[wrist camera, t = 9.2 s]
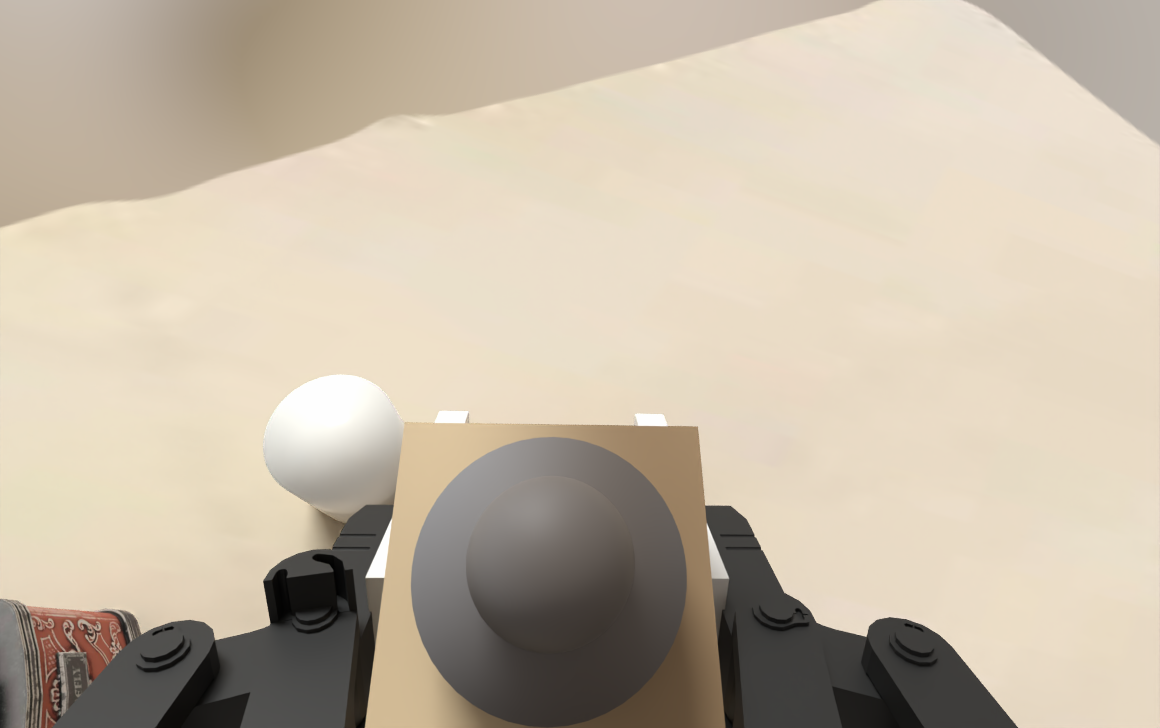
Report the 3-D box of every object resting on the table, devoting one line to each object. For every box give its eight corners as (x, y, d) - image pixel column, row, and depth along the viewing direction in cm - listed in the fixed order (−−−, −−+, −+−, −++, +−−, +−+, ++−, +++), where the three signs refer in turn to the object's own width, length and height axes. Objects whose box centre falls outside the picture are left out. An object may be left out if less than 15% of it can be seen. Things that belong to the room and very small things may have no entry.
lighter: (158, 781, 27) (-40, 848, 18) (74, 815, 26) (-177, 903, 17) (144, 598, 30) (-30, 576, 21) (69, 625, 29) (-145, 613, 20)
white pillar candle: (300, 524, 32) (249, 498, 26) (320, 417, 34) (278, 373, 29) (415, 525, 32) (388, 499, 27) (427, 418, 35) (405, 375, 29)
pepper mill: (468, 703, 17) (259, 842, 5) (479, 542, 19) (351, 336, 7) (623, 703, 17) (822, 833, 5) (619, 543, 19) (752, 345, 7)
